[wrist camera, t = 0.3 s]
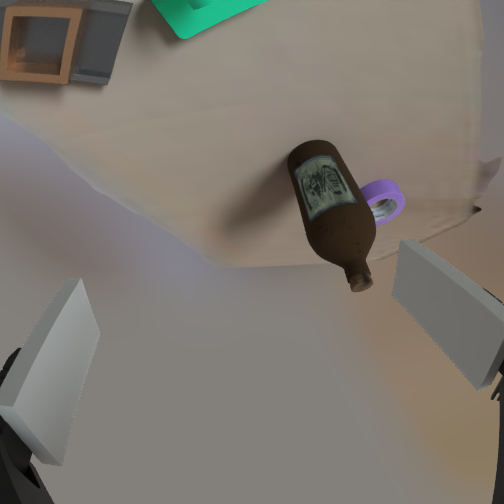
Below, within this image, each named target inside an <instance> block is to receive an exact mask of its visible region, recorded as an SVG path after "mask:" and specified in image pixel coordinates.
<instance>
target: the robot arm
mask: <svg viewBox="0 0 504 504" xmlns="http://www.w3.org/2000/svg"><path fill="white" fill-rule="evenodd" d="M392 296H393V297H394V298H395V299H396V300H397V302H398V303H399V304H400V305H401V306H402V307H403V308H404V309H405V310H406V311H407V312H408V313H409V314H410V315H411V316H412V317H413V319H415V321H416V322H417V323H418V324H419V325H420V326H421V327H422V328H423V329H424V330H425V331H426V333H427V334H428V335H429V336H430V337H431V338H432V339H433V340H434V342H435V343H436V344H437V345H438V346H439V347H440V348H441V349H442V350H443V352H444V353H445V354H446V355H447V356H448V357H449V358H450V360H452V362H453V363H454V364H455V365H456V366H457V368H458V369H459V370H460V371H461V372H462V374H463V375H464V376H465V377H466V378H467V380H468V381H469V382H470V383H471V384H472V385H473V387H474V388H475V389H476V390H477V391H479V390H481V389H483V388H485V387H487V386H489V385H491V384H492V382H493V380H494V378H495V376H496V374H497V372H498V371H499V372H500V373H501V374H502V375H503V376H502V378H501V380H500V382H499V383H498V385H497V387H496V389H495V391H494V392H493V394H492V396H491V400H493V399H494V398H495V396H496V394H497V393H500V395H499V397H498V399H497V401H500V431H499V449H498V451H499V452H498V462H497V472H496V480H495V488H494V494H493V501H492V504H504V304H502V302H501V301H500V300H499V299H497V298H495V296H494V295H492V294H491V293H490V292H489V291H487V290H485V289H484V288H482V287H480V286H479V285H477V284H476V283H475V282H473V281H472V280H471V279H469V278H468V277H467V276H465V275H464V274H463V273H461V272H460V271H459V270H457V269H456V268H455V267H453V266H452V265H451V264H449V263H448V262H446V261H445V260H444V259H442V258H441V257H439V256H438V255H436V254H435V253H434V252H432V251H431V250H429V249H428V248H427V247H425V246H424V245H422V244H421V243H419V242H418V241H416V240H415V239H408V240H400V245H399V252H398V260H397V267H396V273H395V279H394V285H393V291H392ZM100 335H101V334H100V331H99V329H98V326H97V324H96V321H95V318H94V315H93V312H92V309H91V306H90V303H89V300H88V297H87V294H86V291H85V288H84V285H83V281H82V278H75V279H66V280H65V281H64V282H63V283H62V285H61V286H60V288H59V290H58V291H57V292H56V294H55V295H54V297H53V298H52V300H51V301H50V303H49V304H48V306H47V307H46V309H45V311H44V312H43V314H42V315H41V317H40V319H39V320H38V322H37V323H36V325H35V326H34V328H33V330H32V332H31V333H30V335H29V336H28V338H27V340H26V342H25V343H24V345H23V347H22V348H18V349H17V350H16V351H15V352H14V353H12V354H11V355H10V356H9V358H8V359H7V361H6V363H5V365H4V366H3V370H1V372H0V504H54V502H53V501H52V499H51V497H50V495H49V493H48V491H47V490H46V488H45V486H44V484H43V482H42V480H41V478H40V477H39V474H38V472H37V471H36V468H35V467H34V466H33V464H32V463H31V462H30V458H31V455H32V453H33V454H34V455H35V456H36V457H37V458H38V459H39V460H40V462H41V463H44V464H50V465H57V466H62V464H63V460H64V456H65V451H66V447H67V443H68V439H69V435H70V431H71V427H72V424H73V420H74V416H75V413H76V409H77V405H78V402H79V399H80V395H81V392H82V388H83V385H84V382H85V379H86V376H87V372H88V370H89V366H90V363H91V360H92V357H93V354H94V352H95V349H96V346H97V343H98V340H99V337H100Z"/></svg>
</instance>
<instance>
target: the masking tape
mask: <svg viewBox="0 0 504 504" xmlns="http://www.w3.org/2000/svg"><path fill="white" fill-rule="evenodd" d="M360 191H361V192H362V194H363V196H364V198H365V200H366V201H367V203H368V205H369V207H370V206H371V205H373V204H374V203H376V202H378V201H380V200H383V199H388V200H387V201H386V202H385V203H384V204H382V205H381V206H379V207H377V208H373V209H371V210H372V212H373V215H374V218H375V223H376V225H380V224H383V223H386V222H388V221H390V220H391V219H393V218H394V217H396V216H397V215H398V214H399V213H400V212H401V211H402V209H403V207H404V205H405V199H404V197H403V195H402V193H401V191H400V189H399V187H398V185H397V184H396V183H395V182H393V181H391V180H378V181H374V182H372V183H369V184H368V185H366V186H364V187H363V188H361V189H360Z"/></svg>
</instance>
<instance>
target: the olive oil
mask: <svg viewBox="0 0 504 504" xmlns="http://www.w3.org/2000/svg"><path fill="white" fill-rule="evenodd" d="M288 170H289V173H290V176H291V180H292V183H293V186H294V190H295V193H296V197H297V200H298V204H299V208H300V212H301V215H302V219H303V223H304V227H305V231H306V235H307V239H308V242H309V244H310V245H311V247H312V248H313V250H314V251H315V252H316V254H317V255H319V256H320V257H321V258H323V259H324V260H327V261H329V262H331V263H333V264H336V265H338V266H340V267H342V268H343V269H344V271H345V274H346V278H347V281H348V283H350V287H351V290H352V291H353V292H361V291H364V290H366V289H368V288H370V287H371V286H372V285H373V281H372V278H371V277H370V275H371V273H370V270H369V268H368V265H367V263H366V257H367V255H368V253H369V251H370V248H371V246H372V244H373V242H374V239H375V236H376V223H375V218H374V215H373V212H372V210H371V209H370V207H369V205H368V203H367V201H366V200H365V198H364V196H363V194H362V192H361V191H360V189H359V187H358V185H357V184H356V182H355V180H354V178H353V177H352V175H351V173H350V171H349V170H348V168H347V166H346V164H345V163H344V161H343V159H342V157H341V156H340V154H339V152H338V150H337V149H336V147H335V146H334V145H333V144H331V143H330V142H327V141H324V140H313V141H309V142H306V143H303V144H302V145H300V146H298V147H297V148H296V149H295V150H294V151H293V152H292V153H291V155H290V156H289V159H288Z"/></svg>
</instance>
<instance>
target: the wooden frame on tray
mask: <svg viewBox="0 0 504 504" xmlns="http://www.w3.org/2000/svg"><path fill="white" fill-rule="evenodd" d="M132 6H133V3H129V2H123V1H116V0H0V80H13V81H31V82H44V83H56V84H65V85H67V84H68V83H69V81H70V80H74V81H82V82H90V83H97V84H104V85H108V82H109V80H110V78H111V74H112V70H113V66H114V63H115V59H116V55H117V52H118V48H119V45H120V42H121V38H122V35H123V32H124V29H125V26H126V23H127V20H128V17H129V14H130V11H131V8H132Z"/></svg>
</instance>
